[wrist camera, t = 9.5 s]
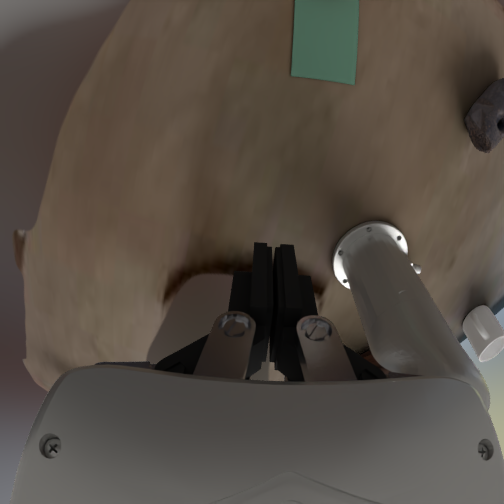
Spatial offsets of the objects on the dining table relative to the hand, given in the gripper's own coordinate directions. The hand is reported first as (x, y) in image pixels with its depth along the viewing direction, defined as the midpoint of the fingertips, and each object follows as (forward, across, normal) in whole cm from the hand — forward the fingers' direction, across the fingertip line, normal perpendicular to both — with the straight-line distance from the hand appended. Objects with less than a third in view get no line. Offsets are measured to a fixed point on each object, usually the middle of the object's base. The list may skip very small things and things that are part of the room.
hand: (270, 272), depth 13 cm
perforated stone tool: (+27, -32, -13) cm, 44 cm away
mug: (+28, -50, +29) cm, 64 cm away
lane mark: (+27, -6, -24) cm, 37 cm away
